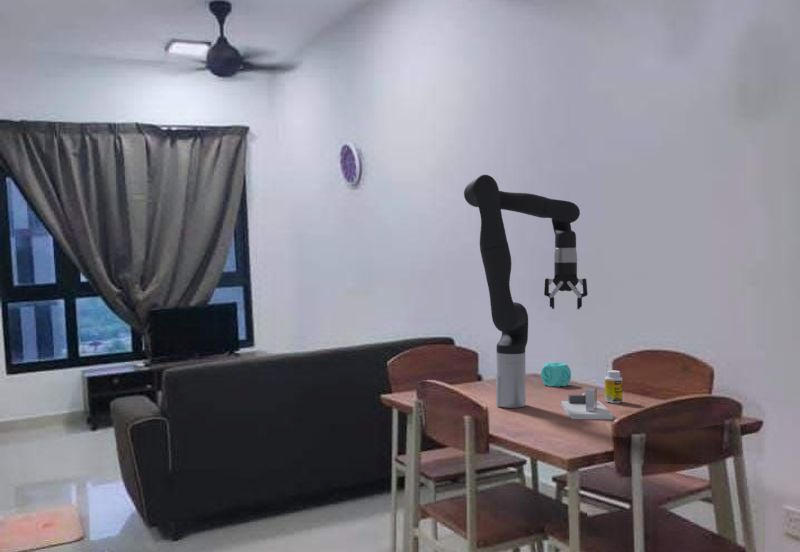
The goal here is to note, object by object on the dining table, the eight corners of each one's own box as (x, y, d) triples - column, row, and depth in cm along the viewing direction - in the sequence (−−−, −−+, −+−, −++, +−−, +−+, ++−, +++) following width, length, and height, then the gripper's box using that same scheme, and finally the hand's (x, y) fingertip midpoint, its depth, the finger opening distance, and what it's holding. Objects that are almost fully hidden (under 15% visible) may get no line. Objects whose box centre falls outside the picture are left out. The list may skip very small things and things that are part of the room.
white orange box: (594, 411, 223) (594, 390, 223) (585, 410, 224) (585, 390, 224) (596, 407, 229) (596, 387, 229) (588, 406, 230) (588, 386, 230)
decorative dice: (571, 385, 277) (571, 364, 277) (558, 388, 272) (557, 366, 272) (554, 382, 283) (554, 361, 283) (540, 385, 278) (540, 363, 278)
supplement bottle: (614, 404, 241) (614, 373, 241) (601, 401, 246) (601, 370, 245) (626, 402, 244) (626, 371, 244) (612, 399, 249) (612, 369, 248)
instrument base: (571, 419, 220) (571, 403, 220) (561, 405, 240) (561, 391, 240) (613, 419, 219) (613, 403, 219) (598, 405, 239) (598, 391, 239)
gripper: (543, 261, 252) (543, 309, 253) (586, 261, 248) (586, 310, 248) (545, 261, 259) (546, 307, 260) (588, 261, 255) (588, 308, 255)
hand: (565, 308), depth 254 cm, fingers open, 8 cm apart
